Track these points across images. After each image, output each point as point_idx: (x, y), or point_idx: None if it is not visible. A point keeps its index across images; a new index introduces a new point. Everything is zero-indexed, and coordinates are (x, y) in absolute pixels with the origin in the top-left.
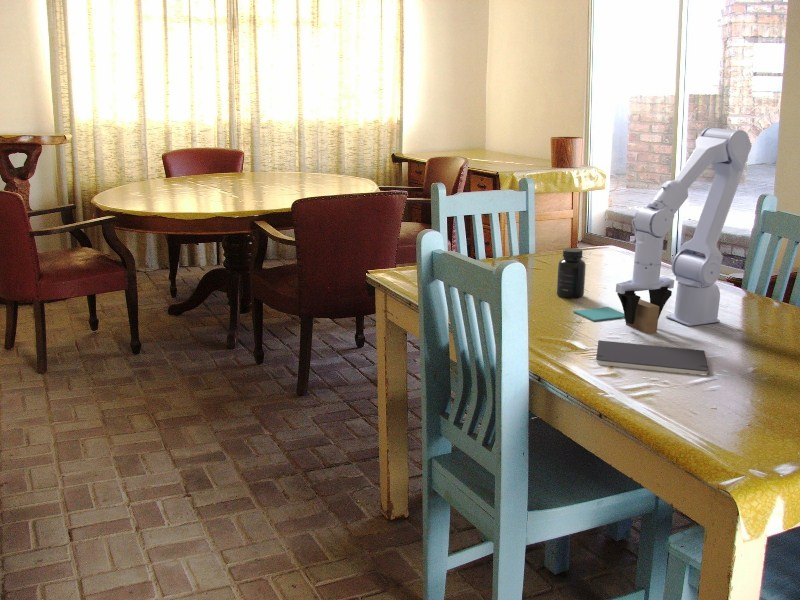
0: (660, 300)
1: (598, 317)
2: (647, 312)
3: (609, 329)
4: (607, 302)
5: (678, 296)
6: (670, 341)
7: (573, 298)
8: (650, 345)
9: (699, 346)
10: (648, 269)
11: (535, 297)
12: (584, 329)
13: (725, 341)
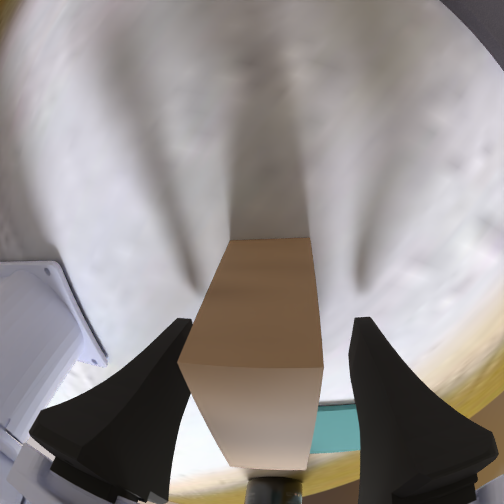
0: (129, 416)
1: (353, 418)
2: (320, 334)
3: (418, 333)
4: (220, 459)
5: (37, 395)
6: (255, 63)
7: (283, 478)
8: (469, 7)
9: None
10: None
11: (346, 482)
12: (479, 345)
13: (21, 62)
